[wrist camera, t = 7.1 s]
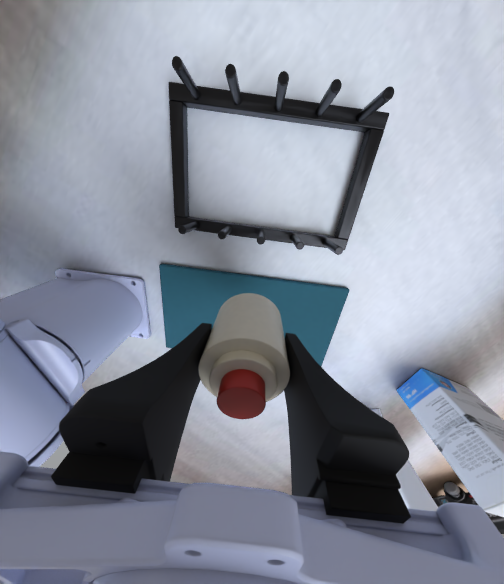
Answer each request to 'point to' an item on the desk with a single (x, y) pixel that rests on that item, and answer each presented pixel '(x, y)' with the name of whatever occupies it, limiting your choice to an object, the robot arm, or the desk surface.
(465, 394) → the ink box
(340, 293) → the mat
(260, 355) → the cream bottle
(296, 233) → the drying rack
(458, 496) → the game controller
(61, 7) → the desk surface
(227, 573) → the robot arm
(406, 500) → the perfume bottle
